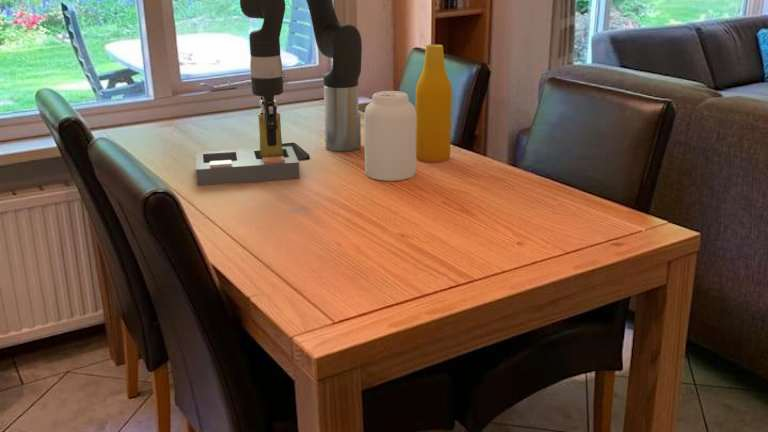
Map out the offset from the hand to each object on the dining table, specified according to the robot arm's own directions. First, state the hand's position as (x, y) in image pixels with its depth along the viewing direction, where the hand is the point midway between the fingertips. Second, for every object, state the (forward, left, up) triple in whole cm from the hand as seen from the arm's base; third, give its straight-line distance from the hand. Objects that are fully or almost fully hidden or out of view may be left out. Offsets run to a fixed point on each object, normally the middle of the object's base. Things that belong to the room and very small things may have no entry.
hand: (270, 141), depth 189 cm
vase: (0, 0, -7) cm, 7 cm away
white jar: (-28, +11, -7) cm, 31 cm away
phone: (-6, -14, -8) cm, 17 cm away
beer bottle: (-42, 0, -7) cm, 42 cm away
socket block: (+6, +2, -7) cm, 10 cm away
